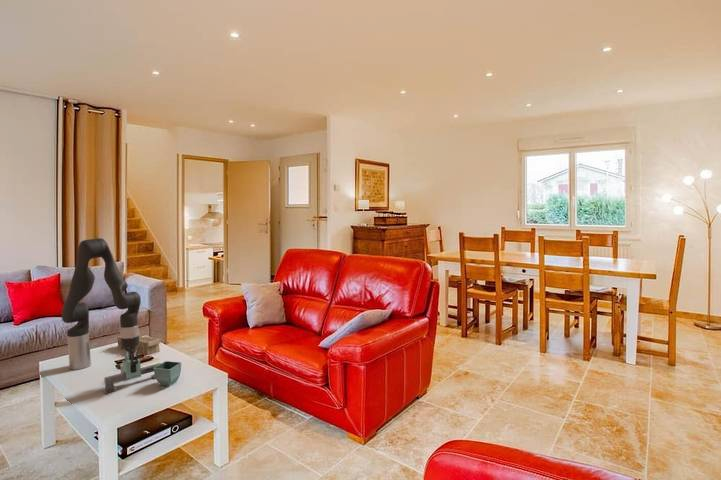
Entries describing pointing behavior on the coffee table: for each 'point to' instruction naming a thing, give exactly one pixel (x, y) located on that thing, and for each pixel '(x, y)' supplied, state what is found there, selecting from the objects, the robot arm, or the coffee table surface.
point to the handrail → (111, 379)
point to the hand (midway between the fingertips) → (131, 370)
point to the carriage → (128, 369)
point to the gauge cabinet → (122, 372)
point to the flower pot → (167, 372)
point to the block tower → (144, 345)
